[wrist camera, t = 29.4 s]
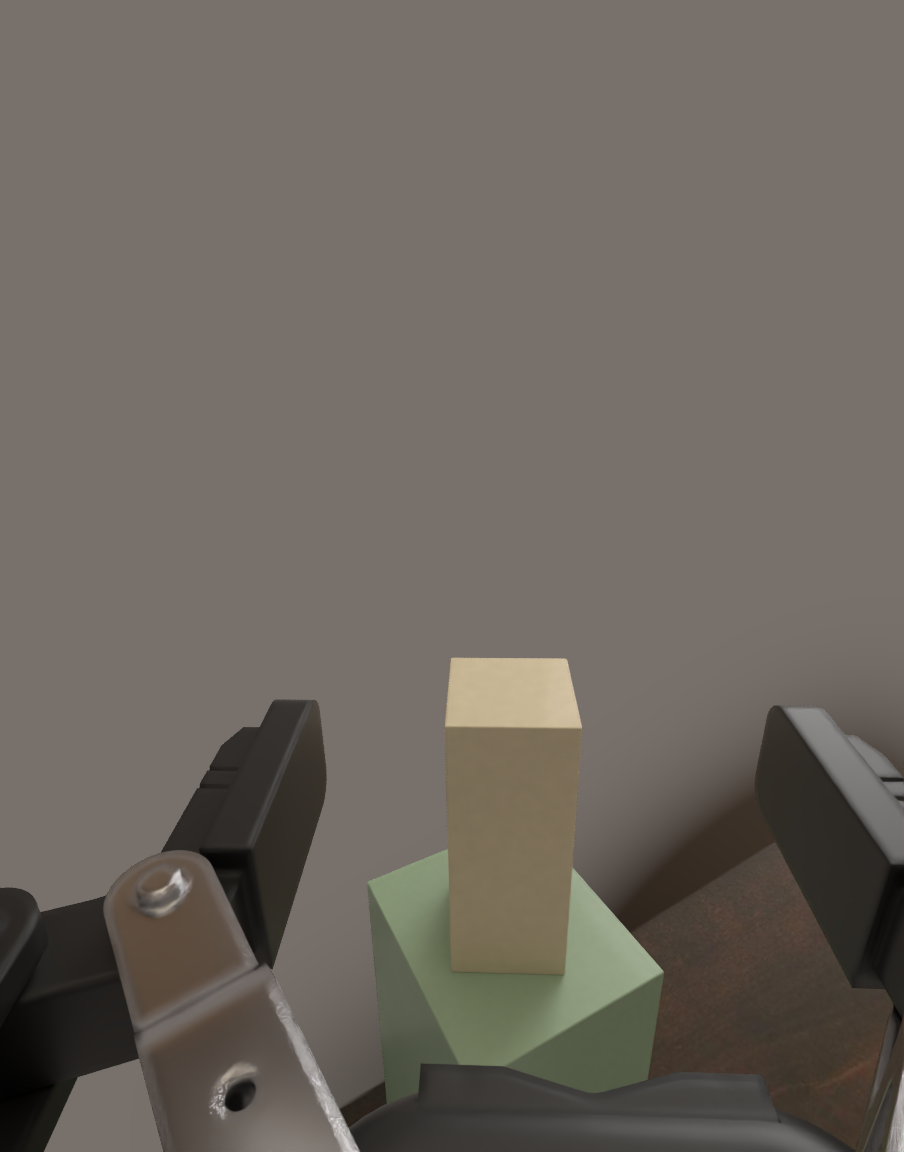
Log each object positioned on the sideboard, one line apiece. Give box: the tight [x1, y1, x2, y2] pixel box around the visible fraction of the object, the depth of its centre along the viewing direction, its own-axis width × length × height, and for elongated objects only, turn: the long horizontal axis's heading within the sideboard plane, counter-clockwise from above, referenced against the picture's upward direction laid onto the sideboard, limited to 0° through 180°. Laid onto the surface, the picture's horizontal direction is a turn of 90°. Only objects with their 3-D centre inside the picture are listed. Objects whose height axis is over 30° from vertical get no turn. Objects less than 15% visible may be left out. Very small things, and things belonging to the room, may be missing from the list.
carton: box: [445, 658, 582, 975], centre depth 27 cm, size 5×5×12 cm
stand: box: [367, 849, 664, 1104], centre depth 34 cm, size 9×10×22 cm
